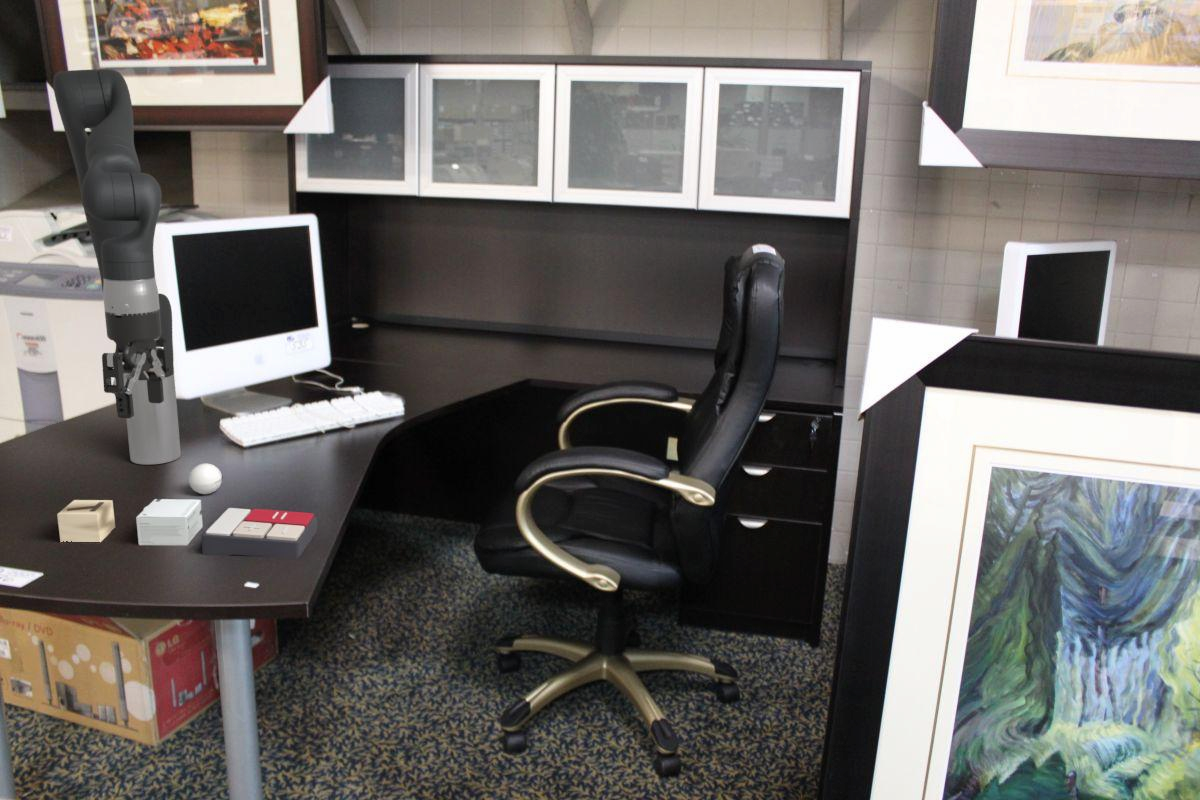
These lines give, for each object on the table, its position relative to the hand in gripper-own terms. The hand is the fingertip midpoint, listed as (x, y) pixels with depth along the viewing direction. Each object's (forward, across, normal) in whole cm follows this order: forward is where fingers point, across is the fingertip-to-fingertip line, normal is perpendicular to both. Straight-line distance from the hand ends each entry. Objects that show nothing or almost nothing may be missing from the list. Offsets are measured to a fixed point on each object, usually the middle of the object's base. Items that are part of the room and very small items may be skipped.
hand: (141, 409), depth 147 cm
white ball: (+22, -21, -1) cm, 30 cm away
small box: (+22, -2, +2) cm, 22 cm away
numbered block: (+22, +1, -11) cm, 24 cm away
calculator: (+22, -2, +17) cm, 28 cm away
